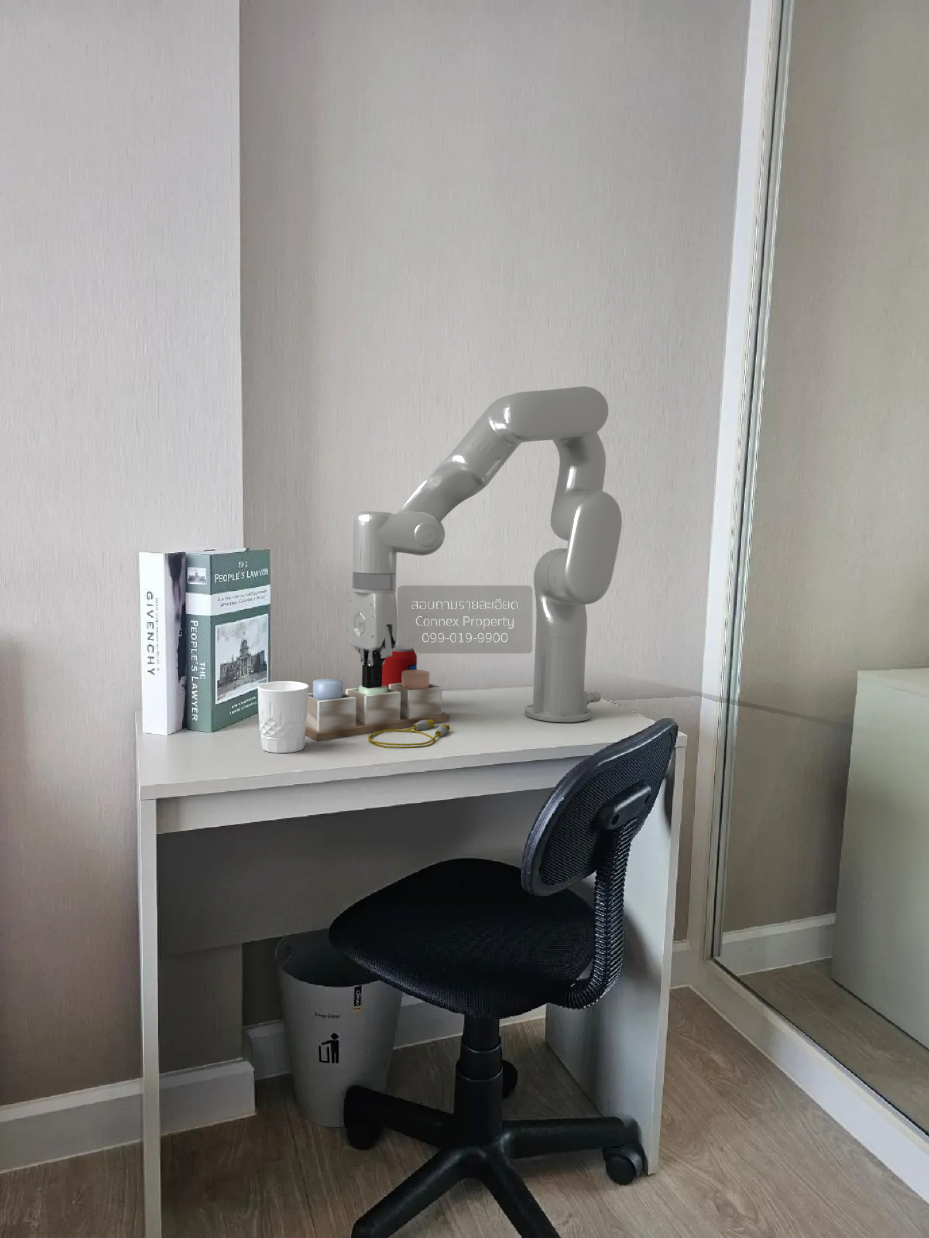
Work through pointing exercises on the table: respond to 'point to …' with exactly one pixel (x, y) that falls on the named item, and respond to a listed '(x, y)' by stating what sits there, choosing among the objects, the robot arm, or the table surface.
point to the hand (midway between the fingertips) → (371, 686)
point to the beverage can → (398, 664)
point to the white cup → (282, 715)
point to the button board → (372, 711)
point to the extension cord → (419, 725)
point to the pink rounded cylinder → (415, 679)
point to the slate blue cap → (327, 689)
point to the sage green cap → (373, 690)
